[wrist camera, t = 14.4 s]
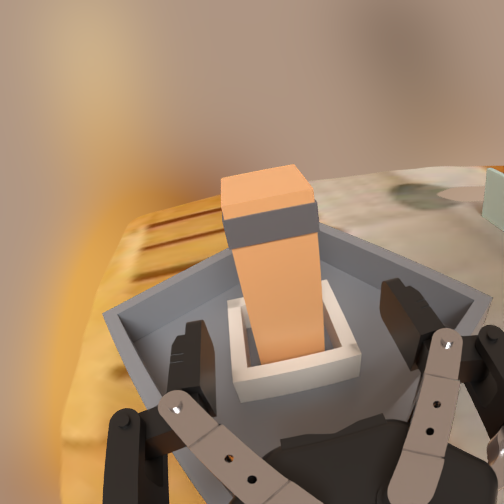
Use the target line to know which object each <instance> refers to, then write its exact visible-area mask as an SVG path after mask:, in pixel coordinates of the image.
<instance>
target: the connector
mask: <svg viewBox="0 0 504 504" xmlns="http://www.w3.org/2000/svg"><path fill="white" fill-rule="evenodd" d="M221 208H222V222H223V226H224V230H225V234H226V238H227V242H228V246H229V250H231V249H232V253H233V257H234V261H235V265H236V269H237V273H238V277H239V281H240V285H241V289H242V293H243V297H244V300H245V304H246V308H247V312H248V316H249V320H250V324H251V328H252V332H253V335H254V339H255V343H256V347H257V351H258V354H259V358H260V362H261V365H264V364H270V363H274V362H279V361H284V360H289V359H293V358H298V357H302V356H307V355H311V354H315V353H319V352H324V351H325V343H324V320H323V301H322V284H321V270H320V256H319V244H318V232H320V228H319V217H318V206H317V202H316V200H315V199H314V192H313V188H312V187H311V185H310V184H309V183H308V181H307V180H306V179H305V178H304V176H303V175H302V174H301V173H300V171H299V170H298V169H297V167H296V166H295V165H294V164H292V165H286V166H281V167H275V168H270V169H264V170H259V171H254V172H249V173H244V174H239V175H234V176H229V177H225V178H221Z"/></svg>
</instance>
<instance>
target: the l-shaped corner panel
mask: <svg viewBox="0 0 504 504" xmlns="http://www.w3.org/2000/svg"><path fill="white" fill-rule="evenodd" d="M482 217H484V218H485V219H486V220H488V221H489V222H491V223H492V224H494V225H495V226H496V227H498V228H499V229H500V230H502V231H503V232H504V174H503V173H501V172H499V171H497V170H495V169H493V168H487V174H486V184H485V194H484V202H483V209H482Z"/></svg>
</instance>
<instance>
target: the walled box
mask: <svg viewBox="0 0 504 504" xmlns="http://www.w3.org/2000/svg"><path fill="white" fill-rule="evenodd" d="M319 228H320V232H318V244H319V256H320V270H321V284H322V301H323V320H324V343H325V351H324V352H319V353H315V354H311V355H307V356H302V357H298V358H293V359H289V360H284V361H279V362H274V363H270V364H264V365H261V362H260V358H259V354H258V351H257V347H256V343H255V339H254V335H253V332H252V328H251V324H250V320H249V316H248V312H247V308H246V304H245V300H244V297H243V293H242V289H241V285H240V281H239V277H238V273H237V269H236V265H235V261H234V257H233V253H232V249H231V250H229V248H227V249H225V250H223V251H221V252H219V253H217V254H215V255H213V256H211V257H209V258H208V259H206V260H204V261H202V262H200V263H198V264H196V265H194V266H192V267H190V268H188V269H186V270H184V271H182V272H180V273H179V274H177V275H175V276H173V277H171V278H169V279H167V280H165V281H163V282H161V283H159V284H157V285H156V286H154V287H152V288H150V289H148V290H146V291H144V292H142V293H140V294H138V295H136V296H135V297H133V298H131V299H129V300H127V301H125V302H123V303H121V304H119V305H118V306H116V307H114V308H112V309H110V310H108V311H106V312H104V313H102V314H103V317H104V319H105V322H106V324H107V327H108V329H109V331H110V334H111V336H112V338H113V341H114V343H115V345H116V347H117V350H118V352H119V354H120V356H121V358H122V360H123V363H124V365H125V367H126V369H127V371H128V373H129V375H130V377H131V379H132V381H133V383H134V385H135V387H136V389H137V391H138V393H139V395H140V397H141V399H142V401H143V403H144V404H145V406H146V408H147V410H148V409H151V408H153V407H155V406H157V405H158V403H159V401H160V399H161V398H162V397H163V396H164V395H165V394H166V392H167V384H168V374H169V364H170V356H171V347H172V344H173V342H174V340H175V339H176V337H177V336H178V335H185V327H186V323H187V322H191V321H197V320H204V322H205V325H206V327H207V330H208V332H209V335H210V338H211V340H212V343H213V346H214V351H215V375H216V410H217V417H212V418H213V419H214V420H215V421H216V422H217V423H219V424H222V425H224V426H225V427H226V428H227V429H228V430H230V431H231V432H232V433H233V434H234V435H235V436H236V437H237V438H238V439H240V440H241V441H242V442H243V443H244V444H245V445H246V446H248V447H249V448H250V449H251V450H252V451H253V452H255V453H256V454H257V455H258V456H259V457H260V458H262V457H263V456H264V455H265V454H267V453H268V452H270V451H271V450H273V449H275V448H277V447H279V446H281V442H280V439H284V438H289V437H294V436H299V435H304V434H333V433H336V432H338V431H340V430H342V429H344V428H346V427H348V426H350V425H352V424H353V423H355V422H357V421H359V420H362V419H365V418H369V417H372V416H375V415H378V414H381V413H383V415H384V417H385V419H397V420H402V421H406V420H407V417H408V415H409V412H410V409H411V406H412V402H413V399H414V396H415V392H416V389H417V385H418V381H419V377H420V374H421V372H420V370H419V369H417V370H414V371H411V372H410V370H409V368H408V366H407V364H406V362H405V360H404V358H403V356H402V354H401V353H400V351H399V349H398V347H397V345H396V343H395V342H394V340H393V338H392V336H391V334H390V333H389V331H388V329H387V327H386V325H385V324H384V322H383V320H382V318H381V315H380V309H379V306H380V294H381V284H382V282H383V281H386V280H389V279H393V278H399V279H400V280H401V281H402V283H403V284H404V285H405V287H407V286H412V287H413V288H415V289H416V290H418V291H419V292H420V293H421V295H422V296H423V297H424V299H425V300H426V301H427V303H428V304H429V307H431V308H432V309H433V311H434V312H435V314H436V315H437V316H438V318H439V319H440V321H441V322H442V323H443V325H444V326H445V328H450V329H453V330H455V331H457V332H458V333H459V334H460V335H461V336H471V335H478V333H479V331H480V329H481V328H482V327H483V324H484V322H485V319H486V316H487V313H488V311H489V308H490V305H491V302H492V299H493V297H491V296H489V295H487V294H485V293H482V292H480V291H478V290H476V289H474V288H472V287H470V286H468V285H465V284H463V283H461V282H459V281H457V280H455V279H452V278H450V277H448V276H446V275H444V274H441V273H439V272H437V271H435V270H432V269H430V268H428V267H426V266H423V265H421V264H419V263H417V262H414V261H412V260H410V259H407V258H405V257H403V256H400V255H398V254H396V253H393V252H391V251H389V250H386V249H384V248H382V247H379V246H377V245H374V244H372V243H370V242H367V241H365V240H362V239H360V238H357V237H355V236H352V235H350V234H347V233H345V232H342V231H340V230H337V229H335V228H332V227H330V226H327V225H325V224H322V223H320V222H319ZM172 453H173V454H174V456H175V458H176V459H177V461H178V462H179V464H180V465H181V467H182V468H183V470H184V471H185V473H186V474H187V476H188V477H189V479H190V480H191V482H192V483H193V485H194V486H195V488H196V489H197V490H198V492H199V493H200V495H201V496H202V497H203V499H204V500H205V502H206V503H207V504H229V502H230V501H231V500H232V498H233V497H234V495H233V494H232V493H231V492H230V491H229V490H228V489H227V488H226V487H225V486H224V485H223V484H222V483H221V482H220V481H219V480H218V479H217V478H216V477H215V476H214V475H213V474H212V473H211V472H210V471H209V470H208V469H207V468H206V467H205V466H204V465H203V464H202V462H201V461H200V460H199V459H198V458H197V457H196V456H195V455H194V454H193V453H192V452H191V451H190V449H189V448H188V447H184V448H182V449H179V450H176V451H174V452H172Z"/></svg>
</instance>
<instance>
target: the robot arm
mask: <svg viewBox="0 0 504 504" xmlns="http://www.w3.org/2000/svg"><path fill="white" fill-rule="evenodd" d="M379 309H380V315H381V318H382V320H383V322H384V324H385V325H386V327H387V329H388V331H389V333H390V334H391V336H392V338H393V340H394V342H395V343H396V345H397V347H398V349H399V351H400V353H401V354H402V356H403V358H404V360H405V362H406V364H407V366H408V368H409V370H410V372H411V371H414V370H417V369H419V370H420V372H421V374H420V377H419V381H418V385H417V389H416V392H415V396H414V399H413V402H412V406H411V409H410V412H409V415H408V417H407V420H406V421H402V420H397V419H385V417H384V415H383V413H381V414H378V415H375V416H372V417H369V418H365V419H362V420H359V421H357V422H355V423H353V424H352V425H350V426H348V427H346V428H344V429H342V430H340V431H338V432H336V433H333V434H304V435H299V436H294V437H289V438H284V439H280V442H281V446H279V447H277V448H275V449H273V450H271V451H270V452H268V453H267V454H265V455H264V456H263V457H262V458H260V457H259V456H258V455H257V454H256V453H255V452H253V451H252V450H251V449H250V448H249V447H248V446H246V445H245V444H244V443H243V442H242V441H241V440H240V439H238V438H237V437H236V436H235V435H234V434H233V433H232V432H231V431H230V430H228V429H227V428H226V427H225V426H224V425H222V424H219V423H217V422H216V421H215V420H214V419H213V418H212V417H217V410H216V375H215V351H214V346H213V343H212V340H211V338H210V335H209V332H208V330H207V327H206V325H205V322H204V320H197V321H191V322H187V323H186V327H185V335H178V336H177V337H176V339H175V340H174V342H173V344H172V347H171V356H170V364H169V374H168V384H167V392H166V394H165V395H164V396H163V397H162V398H161V399H160V401H159V403H158V405H157V406H155V407H153V408H151V409H148V410H145V411H143V412H140V413H137V412H136V411H135V410H133V409H130V408H125V409H121V410H119V411H117V412H116V413H115V414H114V415H113V416H112V418H111V419H110V423H109V430H108V439H107V449H106V459H105V471H104V485H103V504H169V487H168V453H171V452H174V451H176V450H179V449H182V448H184V447H188V448H189V449H190V451H191V452H192V453H193V454H194V455H195V456H196V457H197V458H198V459H199V460H200V461H201V462H202V464H203V465H204V466H205V467H206V468H207V469H208V470H209V471H210V472H211V473H212V474H213V475H214V476H215V477H216V478H217V479H218V480H219V481H220V482H221V483H222V484H223V485H224V486H225V487H226V488H227V489H228V490H229V491H230V492H231V493H232V494H233V495H234V497H233V498H232V500H231V501H230V502H229V504H496V502H497V494H498V491H499V490H501V489H503V488H504V332H503V331H502V330H501V329H500V328H498V327H496V326H493V325H486V326H484V327H482V328H481V329H480V331H479V333H478V335H471V336H461V335H460V334H459V333H458V332H457V331H455V330H453V329H450V328H445V326H444V325H443V323H442V322H441V321H440V319H439V318H438V316H437V315H436V314H435V312H434V311H433V309H432V308H431V307H429V304H428V303H427V301H426V300H425V299H424V297H423V296H422V295H421V293H420V292H419V291H418V290H416V289H415V288H413V287H412V286H407V287H405V285H404V284H403V283H402V281H401V280H400V279H399V278H393V279H389V280H386V281H383V282H382V284H381V294H380V306H379ZM460 383H464V384H465V386H466V388H467V390H468V392H469V394H470V396H471V398H472V401H473V403H474V405H475V407H476V409H477V411H478V413H479V415H480V417H481V420H482V422H483V424H484V426H485V429H486V431H487V433H488V435H489V438H490V441H489V443H488V446H487V455H488V456H487V459H488V463H487V462H485V461H483V460H481V459H479V458H477V457H475V456H473V455H471V454H469V453H467V452H465V451H463V450H461V449H459V448H457V447H455V446H453V445H451V444H449V443H448V440H449V436H450V432H451V427H452V423H453V419H454V414H455V409H456V404H457V399H458V393H459V388H460Z"/></svg>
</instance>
